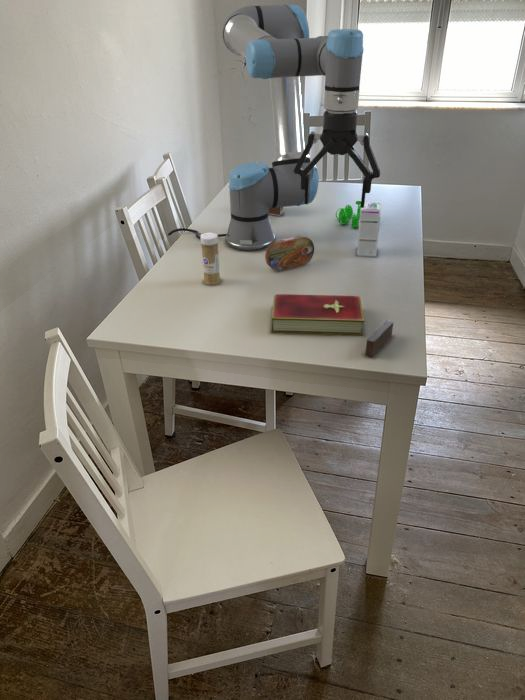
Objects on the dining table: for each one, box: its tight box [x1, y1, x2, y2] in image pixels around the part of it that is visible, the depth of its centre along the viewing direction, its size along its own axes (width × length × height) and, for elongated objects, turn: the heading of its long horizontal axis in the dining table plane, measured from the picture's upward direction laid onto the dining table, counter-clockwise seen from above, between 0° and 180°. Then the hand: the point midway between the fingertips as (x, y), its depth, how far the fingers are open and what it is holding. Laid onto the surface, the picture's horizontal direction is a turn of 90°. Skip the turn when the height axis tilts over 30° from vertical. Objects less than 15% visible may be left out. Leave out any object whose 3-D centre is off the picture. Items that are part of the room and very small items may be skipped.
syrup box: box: [356, 201, 382, 258], centre depth 155 cm, size 6×6×14 cm
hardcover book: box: [270, 293, 365, 336], centre depth 126 cm, size 12×21×4 cm, turn 86°
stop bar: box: [364, 319, 394, 358], centre depth 117 cm, size 2×10×4 cm, turn 144°
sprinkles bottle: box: [200, 232, 221, 286], centre depth 141 cm, size 5×5×14 cm
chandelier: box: [335, 200, 361, 229], centre depth 178 cm, size 15×15×7 cm
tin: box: [264, 235, 315, 272], centre depth 150 cm, size 15×3×8 cm, turn 117°
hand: (334, 204), depth 129 cm, fingers open, 13 cm apart
